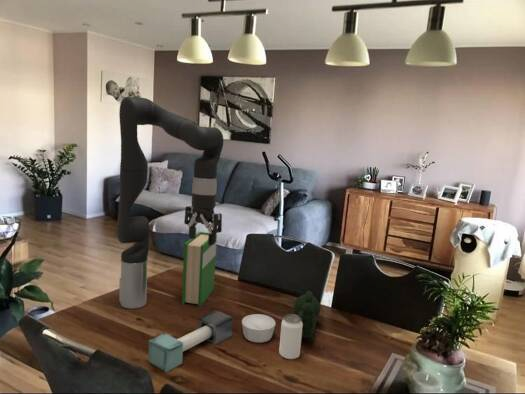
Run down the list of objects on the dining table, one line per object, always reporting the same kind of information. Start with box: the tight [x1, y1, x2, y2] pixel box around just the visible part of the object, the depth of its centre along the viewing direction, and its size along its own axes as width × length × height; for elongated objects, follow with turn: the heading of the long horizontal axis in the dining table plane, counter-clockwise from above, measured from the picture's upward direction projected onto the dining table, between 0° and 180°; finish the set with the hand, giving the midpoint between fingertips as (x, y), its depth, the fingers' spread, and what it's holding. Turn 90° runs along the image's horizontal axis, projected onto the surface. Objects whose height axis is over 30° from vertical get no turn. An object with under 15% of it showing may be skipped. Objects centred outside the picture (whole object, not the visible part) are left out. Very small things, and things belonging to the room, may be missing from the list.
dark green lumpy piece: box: [293, 290, 321, 342], centre depth 144 cm, size 9×19×25 cm
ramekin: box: [241, 313, 276, 344], centre depth 139 cm, size 11×11×5 cm
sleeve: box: [198, 309, 234, 346], centre depth 137 cm, size 8×8×6 cm
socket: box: [147, 332, 184, 373], centre depth 120 cm, size 8×6×6 cm
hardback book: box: [181, 231, 218, 308], centre depth 165 cm, size 18×7×24 cm, turn 170°
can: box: [278, 313, 303, 360], centre depth 129 cm, size 6×6×12 cm
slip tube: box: [176, 325, 213, 352], centre depth 129 cm, size 4×22×4 cm, turn 143°
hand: (201, 241), depth 133 cm, fingers open, 8 cm apart
